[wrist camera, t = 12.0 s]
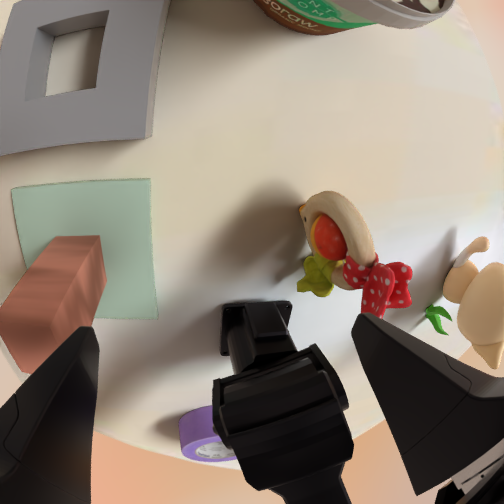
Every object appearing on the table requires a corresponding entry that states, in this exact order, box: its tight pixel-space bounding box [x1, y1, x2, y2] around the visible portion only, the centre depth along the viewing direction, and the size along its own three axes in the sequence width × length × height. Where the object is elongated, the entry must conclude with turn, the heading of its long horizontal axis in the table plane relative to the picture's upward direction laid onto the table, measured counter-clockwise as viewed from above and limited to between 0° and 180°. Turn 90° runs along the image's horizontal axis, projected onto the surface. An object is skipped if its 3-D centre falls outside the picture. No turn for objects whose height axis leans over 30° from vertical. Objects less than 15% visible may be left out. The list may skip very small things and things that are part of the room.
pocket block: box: [0, 0, 171, 156], centre depth 11 cm, size 12×12×3 cm
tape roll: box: [179, 406, 237, 462], centre depth 32 cm, size 12×12×5 cm
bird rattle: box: [297, 191, 412, 319], centre depth 18 cm, size 6×11×9 cm
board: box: [11, 178, 158, 319], centre depth 19 cm, size 12×12×1 cm
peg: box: [0, 235, 107, 374], centre depth 14 cm, size 4×4×10 cm
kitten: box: [426, 237, 504, 369], centre depth 25 cm, size 15×10×15 cm, turn 160°
